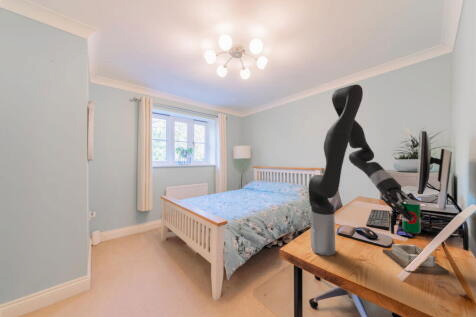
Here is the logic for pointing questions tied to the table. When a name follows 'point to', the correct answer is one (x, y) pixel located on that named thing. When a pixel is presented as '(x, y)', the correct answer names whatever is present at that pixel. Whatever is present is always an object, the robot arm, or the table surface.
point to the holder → (409, 252)
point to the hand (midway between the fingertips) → (416, 218)
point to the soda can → (414, 210)
